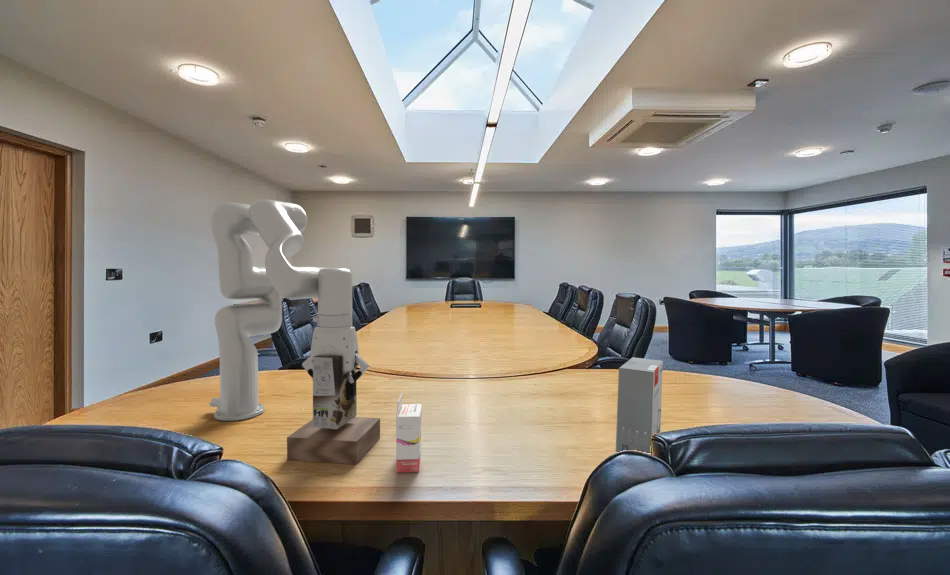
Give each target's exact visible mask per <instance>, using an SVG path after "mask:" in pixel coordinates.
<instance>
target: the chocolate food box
mask: <svg viewBox="0 0 950 575" xmlns="http://www.w3.org/2000/svg"><path fill="white" fill-rule="evenodd" d="M357 368H358V367H356V368H354V369H355V371H356V372H357V371H358V369H357ZM312 379H313V380H312V420H313V427H320V428H329V429H338V428H340V427H341V426H342V425H344V424H345V423H347V422H348V421H350V420H351V419H353V418H354V417H357V408H358V407H357V406H358V404H357V392H358V391H357V390H358V389H357V385H356V395H355V397H354V398H352V399H351V400H350V401H348V400H346V384H347V383H348V379H347V377H346V373H343V372H342V356H335V355H334V356H333V355H327V356H326V355H324V356H313V378H312ZM357 381H358V380H357ZM357 381H356V383H357Z"/></svg>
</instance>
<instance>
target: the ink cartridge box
mask: <svg viewBox="0 0 950 575" xmlns="http://www.w3.org/2000/svg"><path fill="white" fill-rule="evenodd" d="M402 400H403V391H401V393H400V396H399V397H398V401H397V406H396V417H395V420H396V421H395V422H396V423H395V425H396V429H395V430H396V431H395V432H396V433H395V436H396V437H395V438H396V442H395V443H396V445H395V446H396V453H395V454H396V463H395V464H396V465H395V466H396V471H395V472H396V473H398V474H399V473H401V474H403V473H419V472H420V466H421V464H420V463H421V456H422V416H423V415H422V414H423V413H422V412H423V411H422V410H423V409H422V408H423V405H422V403H411V404H409V403H408V404H406V403H405V404H402Z"/></svg>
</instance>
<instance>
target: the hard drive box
mask: <svg viewBox="0 0 950 575" xmlns="http://www.w3.org/2000/svg"><path fill="white" fill-rule="evenodd" d="M663 365H664V361H663V360H658V359H649V358H641V357H634V356H632V357H631V358H630V359H629V360H627V361H626V362H625V363H624V364H622V365H621V366H620V367H619V368H618V378H617V404H616V405H617V406H616V425H615V426H616V429H615V430H616V431H615V432H616V433H615V435H616V436H615V453H616V452H620V451H623V450H637V451H641V452H646V453H651V452H650V446H651V436H652V435H653V434H655V433H659V432H660V433H661V427H662V425H661V424H662V393H663V392H662V391H663Z"/></svg>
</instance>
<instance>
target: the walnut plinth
mask: <svg viewBox="0 0 950 575" xmlns="http://www.w3.org/2000/svg"><path fill="white" fill-rule="evenodd" d="M380 439H381V418H380V417H367V416H366V417H365V416H364V417H362V416H355V417H354V418H353V419H351V420H350V421H348V422H347V423H345V424H344V425H342V426H341V427H340V428H338V429H329V428H320V427H313V419H311V420H310V421H308V422H307V423H305V424H304V425H303V426H301V427H300V428H298V429H297V430H295V431H294V432H293V433H291V434H290V435H288V436H287V437H286V458H287V460H288V461H300V462H317V463H331V464H332V463H333V464H346V465H347V464H348V465H358V464H359V463H360V462H361V461H362V459H363V458H364V457H365V456H366V455H367V454H368V452H369V451H370V450H371V449H372V448H373V447H374V446H375V444H377V442H378V441H380ZM373 445H374V446H373Z"/></svg>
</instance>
